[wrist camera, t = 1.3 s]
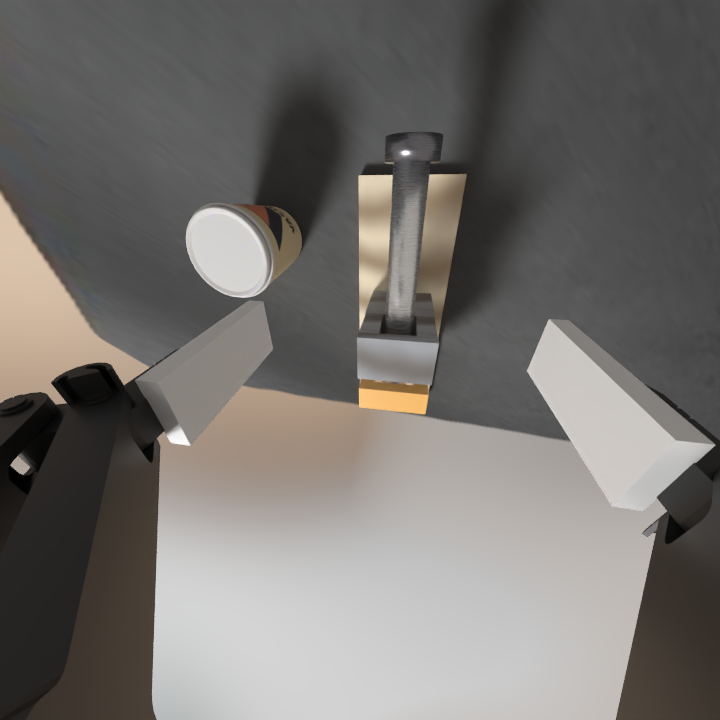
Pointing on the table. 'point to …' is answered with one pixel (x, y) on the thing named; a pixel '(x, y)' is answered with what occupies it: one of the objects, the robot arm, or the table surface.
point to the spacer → (393, 396)
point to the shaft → (407, 222)
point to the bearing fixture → (419, 351)
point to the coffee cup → (242, 246)
